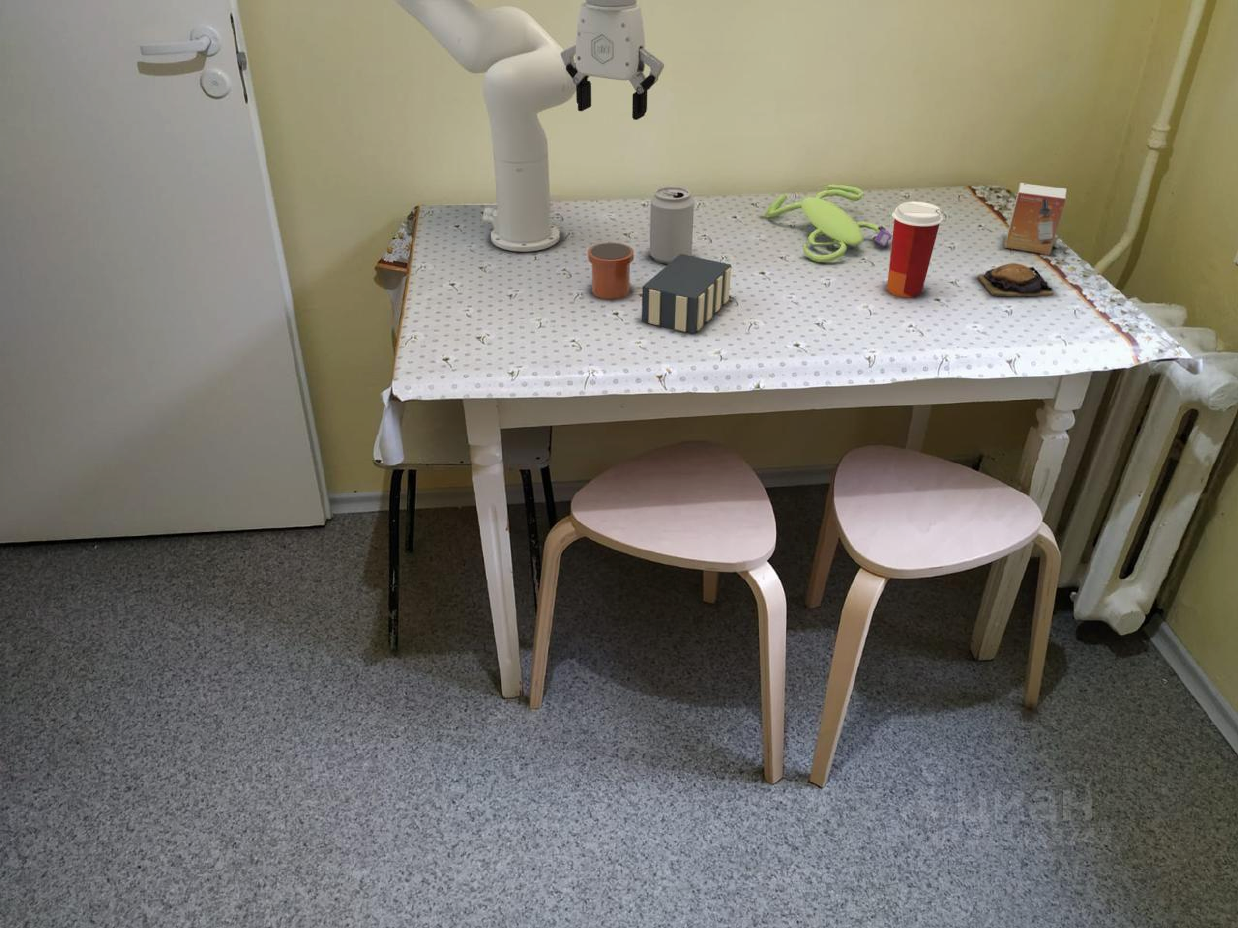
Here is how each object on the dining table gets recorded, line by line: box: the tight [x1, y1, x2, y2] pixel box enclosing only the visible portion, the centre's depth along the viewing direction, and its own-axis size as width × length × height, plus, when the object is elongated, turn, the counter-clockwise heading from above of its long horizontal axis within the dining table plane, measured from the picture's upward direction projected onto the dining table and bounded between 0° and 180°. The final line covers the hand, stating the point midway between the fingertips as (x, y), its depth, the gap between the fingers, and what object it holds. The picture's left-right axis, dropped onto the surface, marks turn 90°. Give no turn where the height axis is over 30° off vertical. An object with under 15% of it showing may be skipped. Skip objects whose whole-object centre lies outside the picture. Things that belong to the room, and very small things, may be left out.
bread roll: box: [977, 262, 1054, 298], centre depth 165 cm, size 11×8×4 cm
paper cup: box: [886, 201, 944, 298], centre depth 160 cm, size 8×8×14 cm
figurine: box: [764, 183, 893, 263], centre depth 183 cm, size 18×27×6 cm
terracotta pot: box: [587, 242, 635, 300], centre depth 162 cm, size 7×7×7 cm
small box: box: [1004, 182, 1068, 256], centre depth 177 cm, size 8×6×10 cm
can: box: [649, 185, 695, 265], centre depth 172 cm, size 8×8×12 cm
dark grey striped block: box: [641, 254, 732, 335], centre depth 157 cm, size 9×14×6 cm, turn 152°
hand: (611, 113), depth 156 cm, fingers open, 9 cm apart
